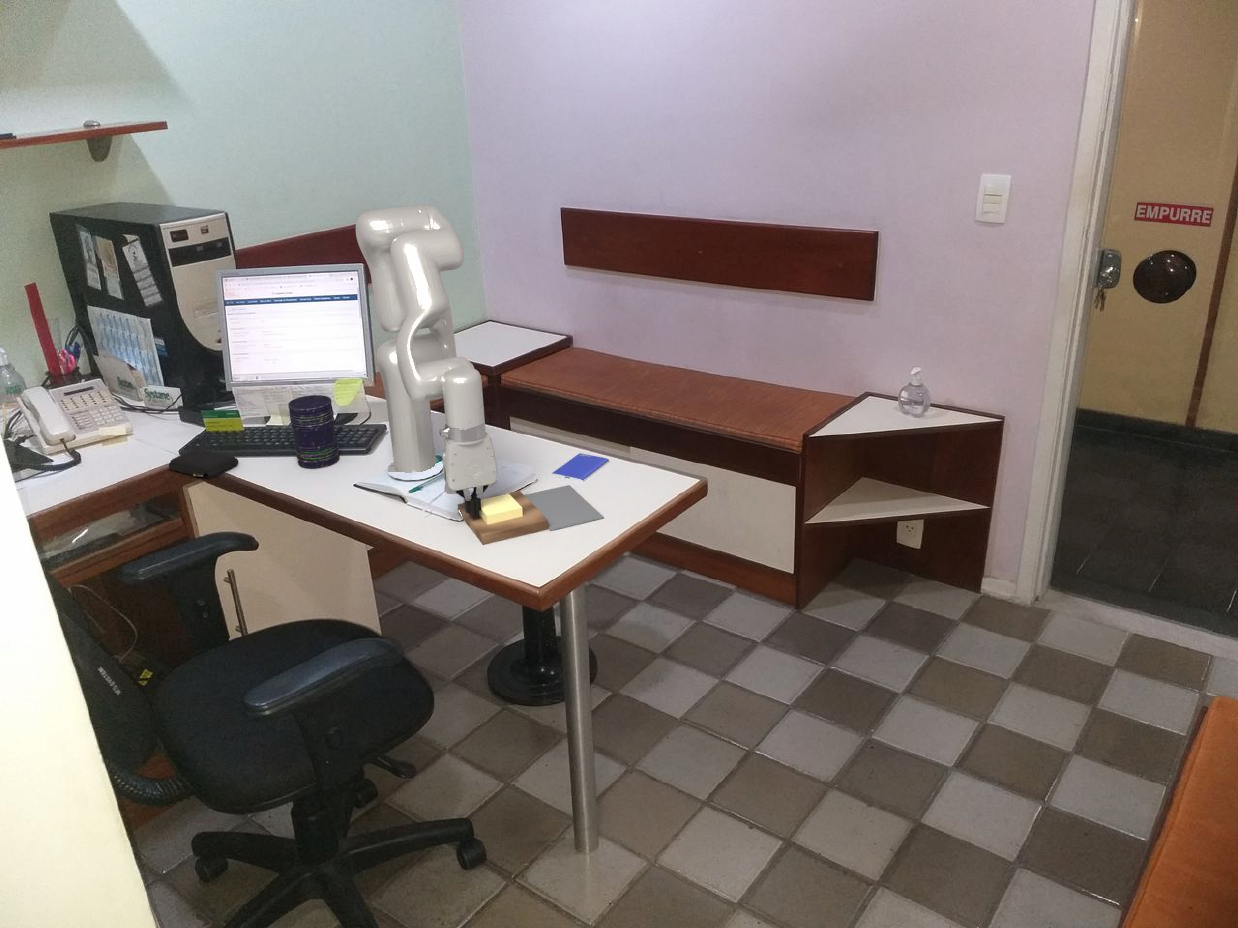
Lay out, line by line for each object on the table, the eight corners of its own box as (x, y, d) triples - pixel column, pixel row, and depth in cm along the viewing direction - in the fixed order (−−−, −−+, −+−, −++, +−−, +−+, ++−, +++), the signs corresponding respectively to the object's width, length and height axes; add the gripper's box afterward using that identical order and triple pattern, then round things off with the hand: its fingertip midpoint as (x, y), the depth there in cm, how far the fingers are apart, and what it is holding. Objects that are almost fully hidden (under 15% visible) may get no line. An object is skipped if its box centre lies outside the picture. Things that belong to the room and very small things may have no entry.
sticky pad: (475, 509, 201) (474, 501, 200) (509, 502, 204) (508, 493, 203) (487, 524, 195) (486, 515, 194) (522, 516, 198) (522, 507, 197)
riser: (458, 512, 204) (457, 504, 203) (520, 499, 210) (519, 490, 209) (483, 544, 191) (482, 535, 190) (548, 529, 197) (548, 520, 196)
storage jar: (335, 468, 227) (326, 408, 221) (293, 470, 227) (282, 410, 221) (343, 451, 236) (335, 394, 230) (303, 453, 236) (293, 395, 230)
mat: (518, 497, 211) (518, 496, 211) (569, 486, 215) (569, 484, 215) (550, 531, 196) (550, 529, 196) (604, 518, 201) (604, 517, 200)
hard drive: (578, 452, 230) (551, 472, 220) (609, 458, 227) (582, 478, 217) (579, 458, 231) (551, 478, 221) (609, 464, 227) (582, 484, 217)
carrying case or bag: (162, 473, 227) (208, 484, 221) (159, 462, 226) (206, 471, 220) (197, 457, 236) (243, 466, 230) (195, 445, 235) (241, 454, 229)
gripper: (434, 444, 183) (443, 530, 191) (508, 430, 189) (514, 514, 197) (423, 431, 190) (432, 515, 197) (496, 418, 195) (502, 500, 203)
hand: (473, 514), depth 197 cm, fingers closed
